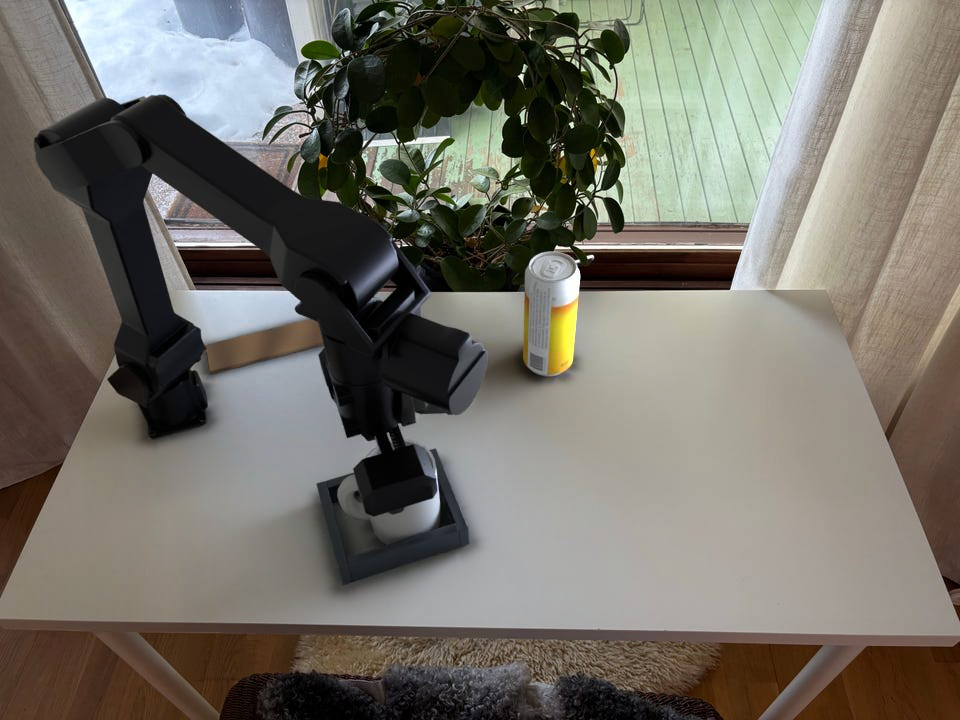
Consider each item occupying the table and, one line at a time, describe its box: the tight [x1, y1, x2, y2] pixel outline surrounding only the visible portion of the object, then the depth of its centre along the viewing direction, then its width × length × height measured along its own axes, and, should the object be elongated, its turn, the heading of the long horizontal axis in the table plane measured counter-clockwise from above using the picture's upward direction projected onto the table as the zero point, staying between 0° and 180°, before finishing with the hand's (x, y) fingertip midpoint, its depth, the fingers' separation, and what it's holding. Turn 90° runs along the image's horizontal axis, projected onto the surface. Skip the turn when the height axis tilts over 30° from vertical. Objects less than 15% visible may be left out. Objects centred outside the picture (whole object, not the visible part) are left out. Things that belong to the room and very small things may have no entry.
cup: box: [337, 438, 442, 545], centre depth 78 cm, size 7×10×9 cm
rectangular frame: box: [316, 448, 470, 586], centre depth 80 cm, size 13×11×3 cm
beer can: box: [522, 251, 581, 377], centre depth 92 cm, size 6×6×15 cm
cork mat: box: [205, 318, 324, 375], centre depth 100 cm, size 15×5×1 cm, turn 110°
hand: (384, 474), depth 76 cm, fingers open, 9 cm apart
